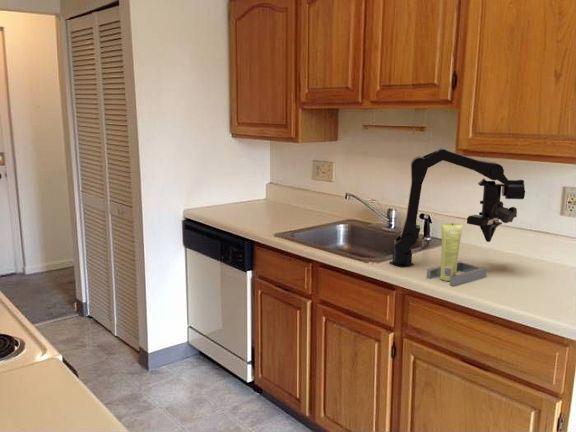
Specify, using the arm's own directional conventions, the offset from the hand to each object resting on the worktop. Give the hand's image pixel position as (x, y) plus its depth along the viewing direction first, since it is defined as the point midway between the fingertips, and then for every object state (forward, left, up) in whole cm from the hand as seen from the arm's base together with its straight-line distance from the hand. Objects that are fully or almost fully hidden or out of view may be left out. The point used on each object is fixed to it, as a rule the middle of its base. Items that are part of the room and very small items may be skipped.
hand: (488, 241), depth 188 cm
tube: (0, -21, -10) cm, 23 cm away
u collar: (0, -17, -10) cm, 19 cm away
